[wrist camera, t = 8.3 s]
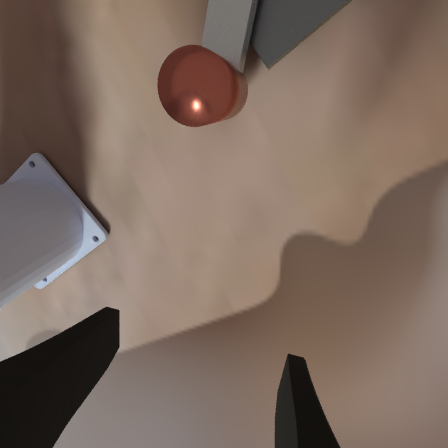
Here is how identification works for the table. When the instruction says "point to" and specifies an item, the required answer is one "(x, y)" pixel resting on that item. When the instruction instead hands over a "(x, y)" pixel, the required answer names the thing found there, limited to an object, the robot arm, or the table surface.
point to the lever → (210, 67)
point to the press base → (288, 25)
